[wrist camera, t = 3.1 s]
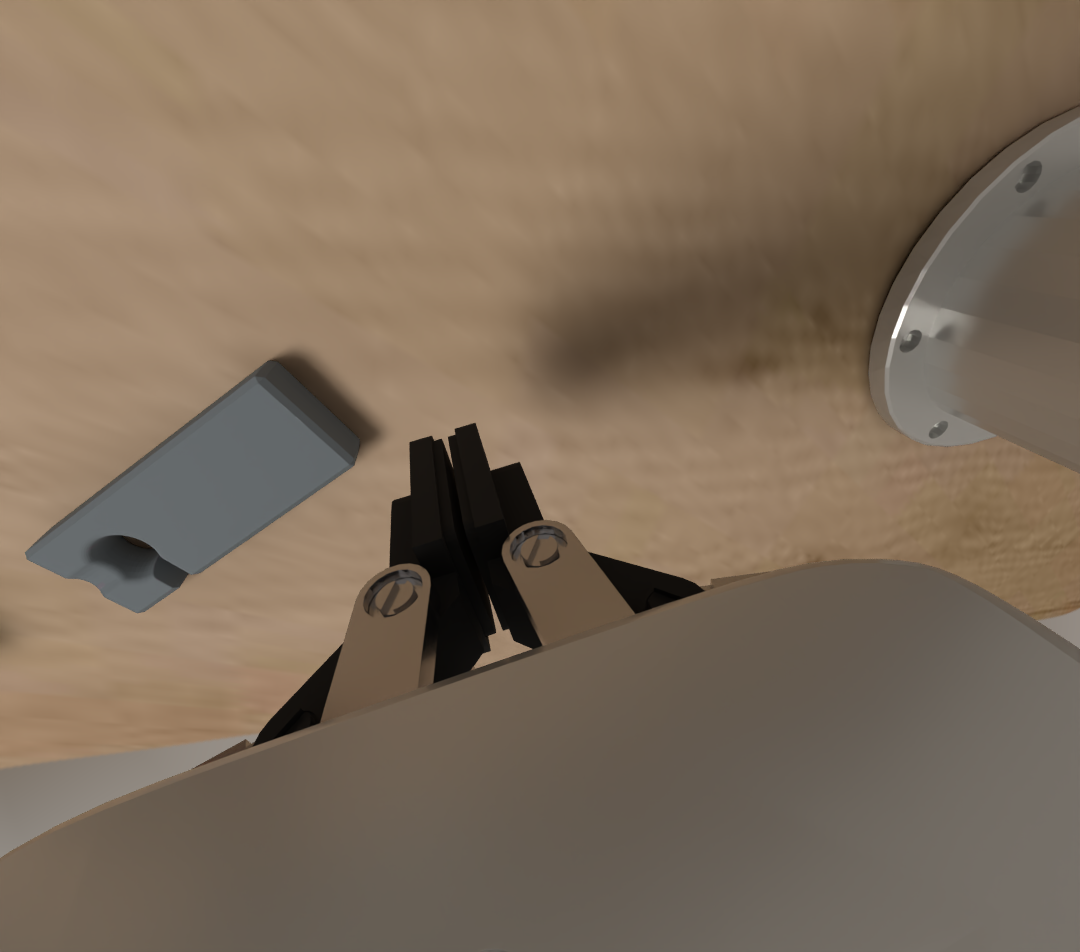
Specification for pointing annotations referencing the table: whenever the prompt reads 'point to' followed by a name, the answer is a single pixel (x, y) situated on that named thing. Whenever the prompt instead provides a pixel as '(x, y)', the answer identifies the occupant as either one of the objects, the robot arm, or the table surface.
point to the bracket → (202, 491)
